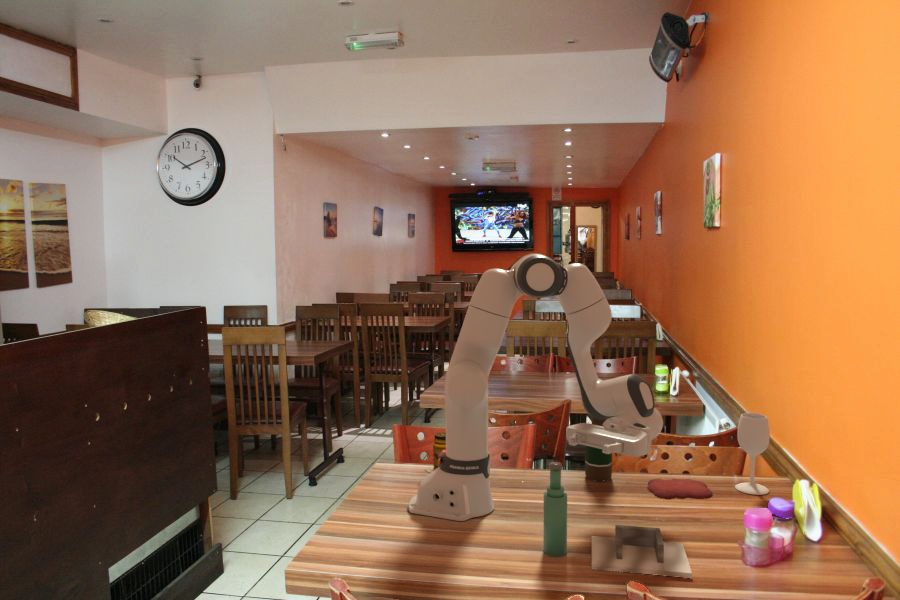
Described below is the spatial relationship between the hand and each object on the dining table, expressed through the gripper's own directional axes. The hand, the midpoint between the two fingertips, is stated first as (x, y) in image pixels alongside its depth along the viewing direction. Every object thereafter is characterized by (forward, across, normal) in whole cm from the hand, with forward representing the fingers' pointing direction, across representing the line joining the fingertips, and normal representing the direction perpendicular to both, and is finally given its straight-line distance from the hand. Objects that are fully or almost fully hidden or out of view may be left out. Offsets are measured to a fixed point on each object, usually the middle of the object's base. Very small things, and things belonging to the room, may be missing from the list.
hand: (587, 446), depth 152 cm
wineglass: (-57, +16, +22) cm, 63 cm away
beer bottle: (-36, -20, +22) cm, 46 cm away
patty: (-43, +1, +22) cm, 48 cm away
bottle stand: (+2, +15, +22) cm, 26 cm away
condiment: (-6, -57, +21) cm, 61 cm away
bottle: (+12, 0, +21) cm, 25 cm away
